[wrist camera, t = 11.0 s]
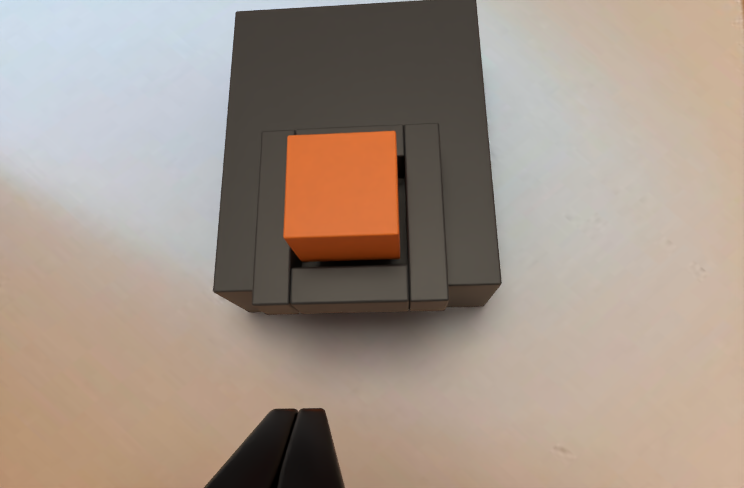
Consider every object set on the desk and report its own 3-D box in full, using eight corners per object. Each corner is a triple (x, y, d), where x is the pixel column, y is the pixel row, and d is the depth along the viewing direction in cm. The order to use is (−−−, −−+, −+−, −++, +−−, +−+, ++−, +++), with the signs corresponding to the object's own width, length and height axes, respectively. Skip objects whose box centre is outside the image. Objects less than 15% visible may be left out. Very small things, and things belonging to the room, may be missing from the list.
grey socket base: (485, 327, 21) (515, 299, 15) (246, 332, 22) (188, 307, 16) (464, 61, 25) (482, -40, 19) (262, 72, 25) (220, -24, 20)
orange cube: (400, 259, 16) (398, 234, 14) (301, 262, 16) (282, 238, 14) (397, 168, 17) (395, 129, 15) (303, 172, 17) (286, 134, 15)
